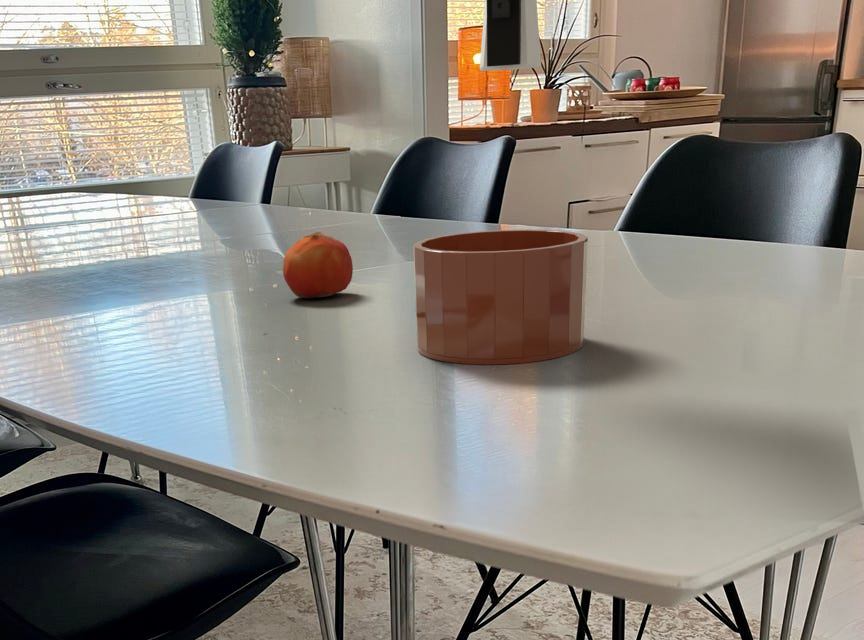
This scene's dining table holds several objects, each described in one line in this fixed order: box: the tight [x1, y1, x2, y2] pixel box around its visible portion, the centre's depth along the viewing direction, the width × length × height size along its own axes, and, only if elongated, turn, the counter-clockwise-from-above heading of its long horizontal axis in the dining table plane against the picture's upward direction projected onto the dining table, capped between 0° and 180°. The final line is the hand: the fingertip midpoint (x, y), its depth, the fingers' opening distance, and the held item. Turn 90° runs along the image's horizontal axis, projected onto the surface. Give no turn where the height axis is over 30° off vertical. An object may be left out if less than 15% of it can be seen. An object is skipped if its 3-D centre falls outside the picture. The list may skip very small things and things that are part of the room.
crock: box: [412, 229, 589, 366], centre depth 101 cm, size 17×17×10 cm
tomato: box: [282, 231, 354, 299], centre depth 134 cm, size 9×9×8 cm
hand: (510, 65), depth 88 cm, fingers closed on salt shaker, 5 cm apart
